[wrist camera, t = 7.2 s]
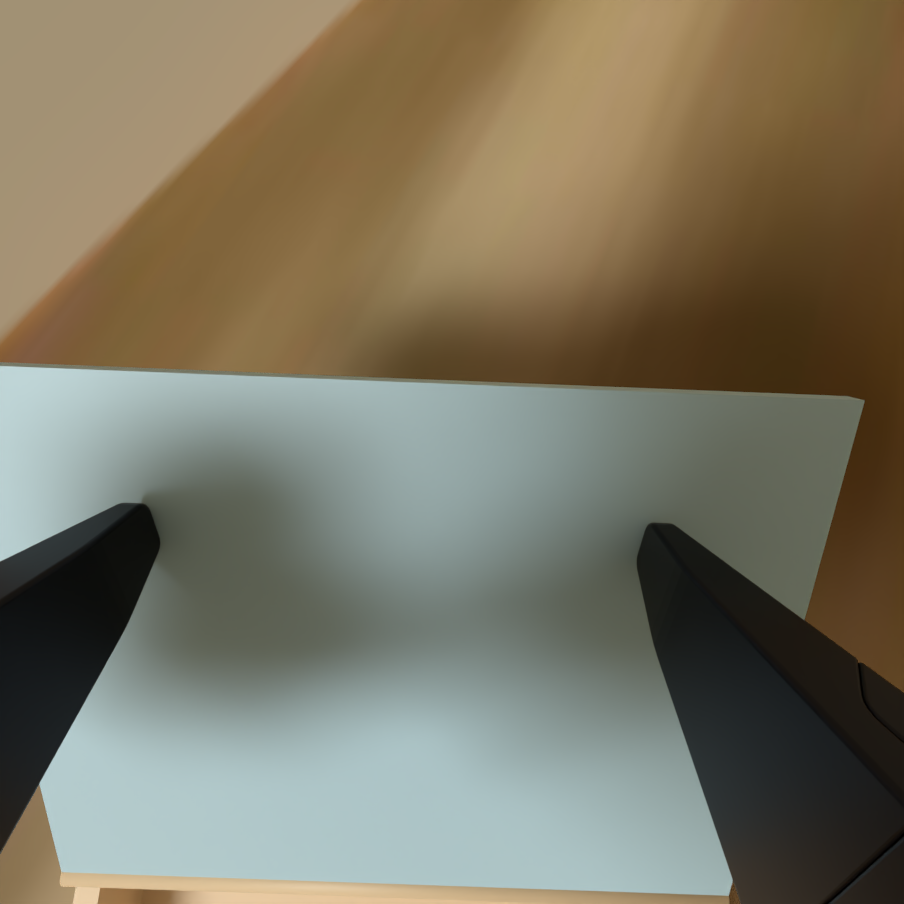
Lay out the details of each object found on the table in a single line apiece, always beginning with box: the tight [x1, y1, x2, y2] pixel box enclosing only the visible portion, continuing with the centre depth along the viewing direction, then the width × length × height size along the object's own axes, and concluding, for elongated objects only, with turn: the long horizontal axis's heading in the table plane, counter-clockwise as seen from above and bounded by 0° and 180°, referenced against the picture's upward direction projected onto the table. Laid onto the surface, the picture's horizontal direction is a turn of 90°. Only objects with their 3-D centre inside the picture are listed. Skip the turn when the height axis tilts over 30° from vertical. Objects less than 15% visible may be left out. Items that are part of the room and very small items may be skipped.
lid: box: [0, 362, 865, 904], centre depth 10 cm, size 12×16×1 cm
